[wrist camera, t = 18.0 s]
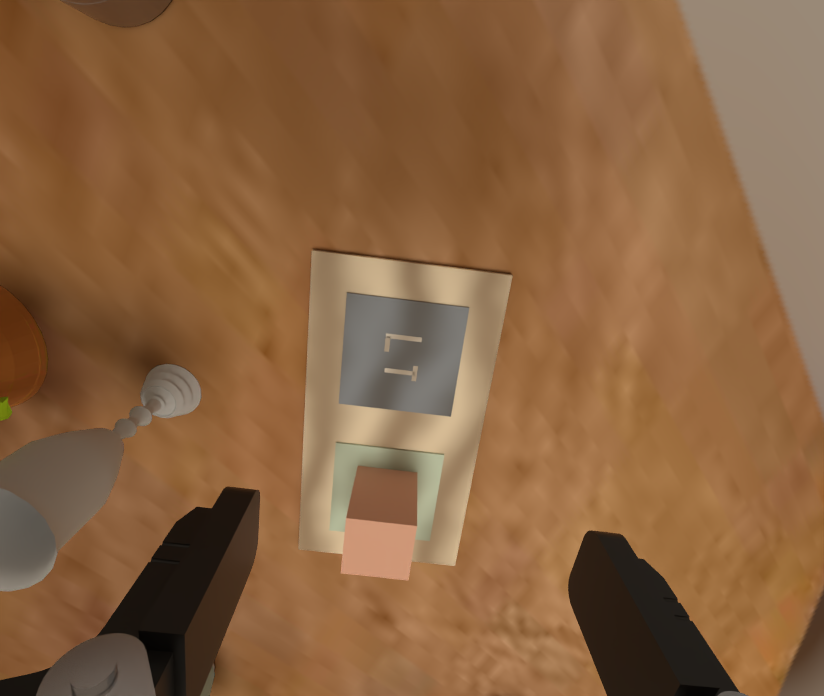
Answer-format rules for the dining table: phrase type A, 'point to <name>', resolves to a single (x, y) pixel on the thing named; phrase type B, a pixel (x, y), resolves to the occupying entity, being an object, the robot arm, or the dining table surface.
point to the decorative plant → (19, 354)
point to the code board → (396, 389)
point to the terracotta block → (381, 524)
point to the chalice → (73, 479)
